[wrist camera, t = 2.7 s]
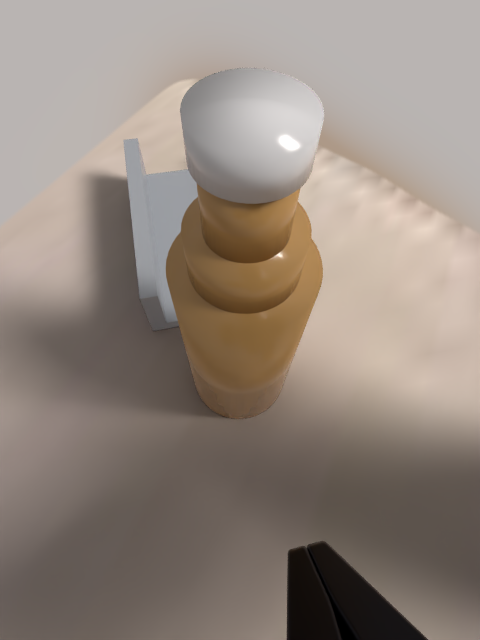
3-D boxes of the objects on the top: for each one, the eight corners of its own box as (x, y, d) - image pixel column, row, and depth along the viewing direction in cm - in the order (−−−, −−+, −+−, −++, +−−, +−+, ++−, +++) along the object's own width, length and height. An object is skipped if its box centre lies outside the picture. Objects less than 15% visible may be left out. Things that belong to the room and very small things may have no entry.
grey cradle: (296, 305, 20) (307, 271, 17) (152, 331, 19) (139, 299, 17) (251, 168, 25) (254, 124, 22) (135, 183, 24) (123, 140, 22)
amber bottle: (292, 348, 19) (393, 66, 7) (269, 431, 17) (356, 231, 5) (212, 324, 20) (183, 26, 8) (180, 401, 18) (75, 160, 6)
